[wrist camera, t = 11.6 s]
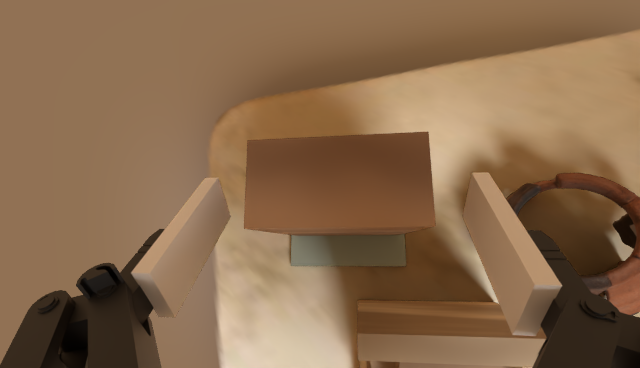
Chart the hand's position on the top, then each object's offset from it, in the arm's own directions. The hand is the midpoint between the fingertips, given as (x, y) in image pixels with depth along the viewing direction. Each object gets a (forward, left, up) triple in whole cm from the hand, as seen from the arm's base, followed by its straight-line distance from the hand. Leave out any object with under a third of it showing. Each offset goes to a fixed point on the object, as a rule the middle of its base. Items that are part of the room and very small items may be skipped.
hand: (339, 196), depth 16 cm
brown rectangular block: (0, 0, -9) cm, 9 cm away
